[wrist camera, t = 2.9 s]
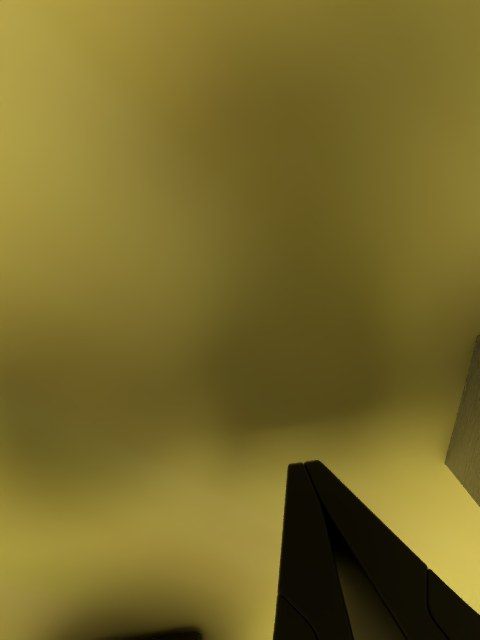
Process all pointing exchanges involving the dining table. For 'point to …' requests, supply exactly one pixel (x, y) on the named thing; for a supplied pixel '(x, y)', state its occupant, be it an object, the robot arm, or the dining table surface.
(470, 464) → the socket
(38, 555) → the dining table surface
